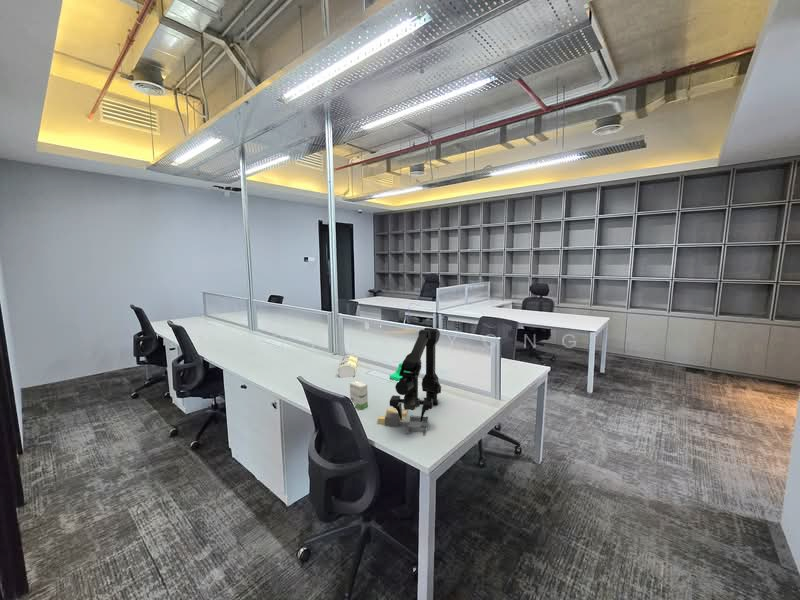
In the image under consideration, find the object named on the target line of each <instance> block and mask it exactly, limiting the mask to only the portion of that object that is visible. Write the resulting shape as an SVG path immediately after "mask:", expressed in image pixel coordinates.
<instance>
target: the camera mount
mask: <svg viewBox="0 0 800 600" xmlns="http://www.w3.org/2000/svg"><path fill="white" fill-rule="evenodd" d="M402 363H403V362H401V363H398V366H397V368H396V370H395V372H393V373H392V374H389V378H390V379H392V380H393V381H394V380H395V381H394V382H397V381H400V378H402V376H399V374H400V370H401V367H402ZM404 372H407V371H404ZM408 373H409V372H408Z"/></svg>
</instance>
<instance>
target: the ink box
mask: <svg viewBox="0 0 800 600" xmlns="http://www.w3.org/2000/svg"><path fill="white" fill-rule="evenodd" d="M349 392H350V395H349V398H350V399H351V400H352V402H353V403H354V405H355V407H354V408H357V409H359V410H364V409H366V408H368V406H369V404H368V403H369V402H368V400H369V398H368V397H369V396H368V384H366V383H364V382H361V381H360V380H359V381H358V380H355V381H352V382H349ZM350 399H349V400H350Z"/></svg>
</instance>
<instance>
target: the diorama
mask: <svg viewBox="0 0 800 600" xmlns="http://www.w3.org/2000/svg"><path fill="white" fill-rule="evenodd" d="M358 364H359V357H358V356H357V355H354V354H347V355H346V349H345V348H344V349H343V357H342V359H341V361H340V364H339V366H338V368H337V369H338V370H337V372H338V373H337V375H338V377H339V378H354V376H355V375H356V371H357V367H358Z"/></svg>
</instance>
